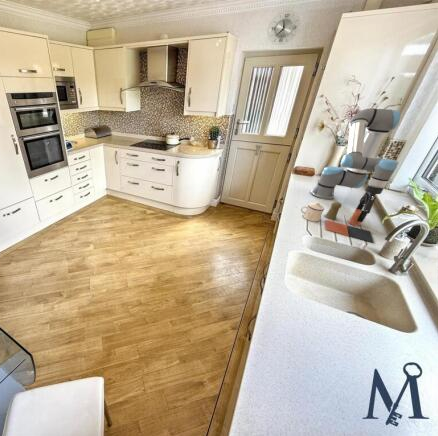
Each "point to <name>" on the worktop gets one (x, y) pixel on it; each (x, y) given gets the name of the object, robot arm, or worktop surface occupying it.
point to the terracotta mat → (337, 227)
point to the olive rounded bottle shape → (333, 211)
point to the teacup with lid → (313, 211)
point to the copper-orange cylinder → (355, 218)
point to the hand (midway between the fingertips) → (358, 217)
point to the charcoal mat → (360, 234)
